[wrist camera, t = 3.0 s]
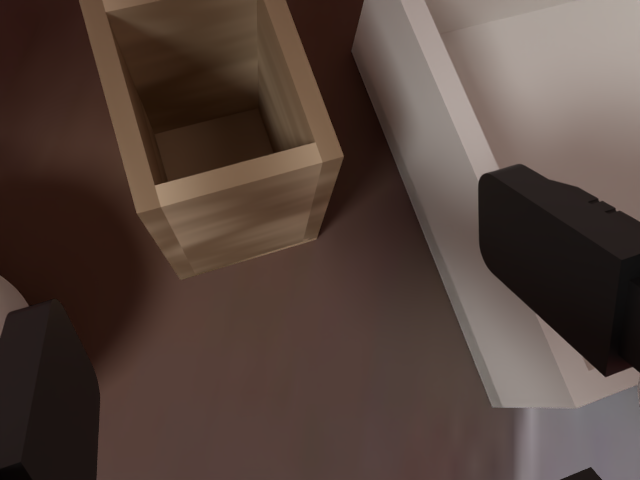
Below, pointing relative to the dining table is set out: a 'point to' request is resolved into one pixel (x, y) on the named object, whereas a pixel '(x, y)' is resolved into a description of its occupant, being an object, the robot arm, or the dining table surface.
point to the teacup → (9, 300)
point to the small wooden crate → (215, 125)
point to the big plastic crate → (506, 151)
